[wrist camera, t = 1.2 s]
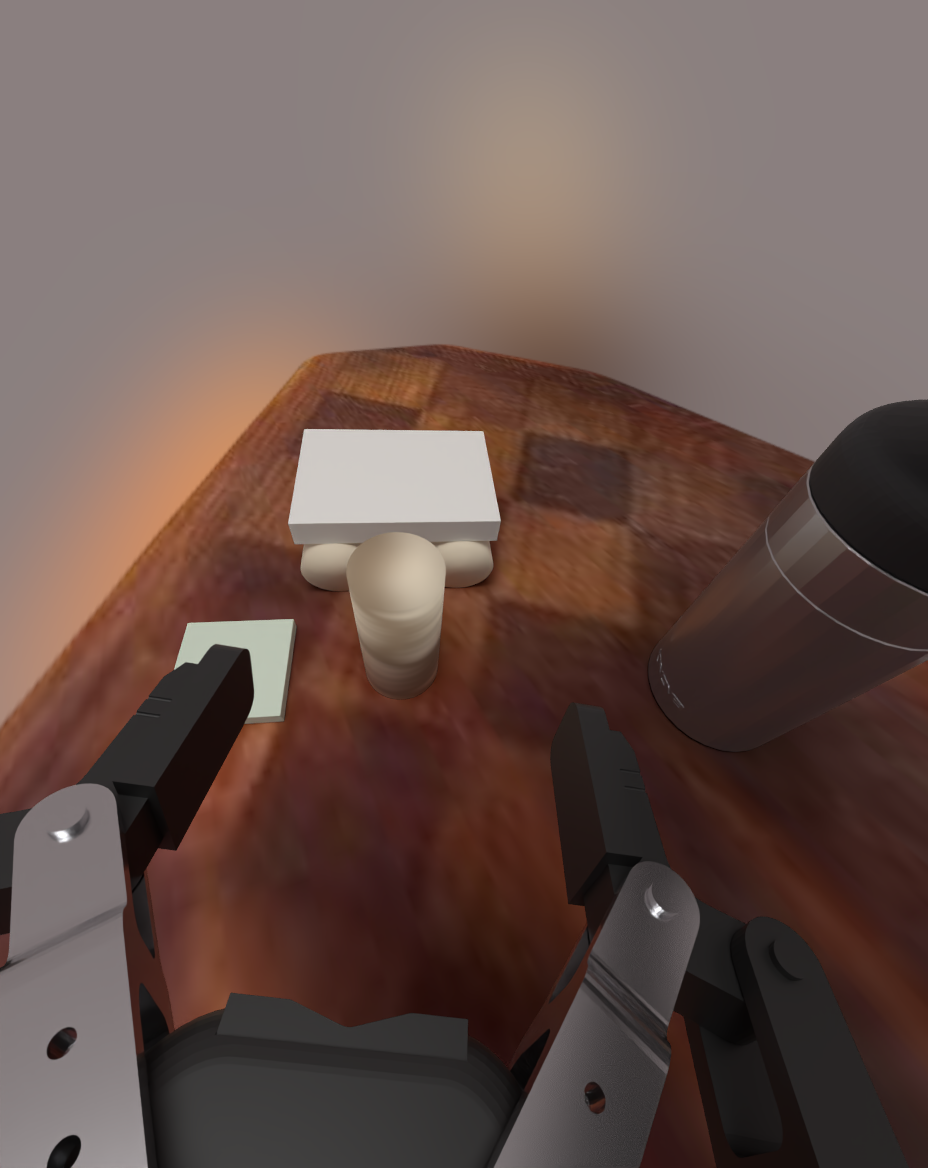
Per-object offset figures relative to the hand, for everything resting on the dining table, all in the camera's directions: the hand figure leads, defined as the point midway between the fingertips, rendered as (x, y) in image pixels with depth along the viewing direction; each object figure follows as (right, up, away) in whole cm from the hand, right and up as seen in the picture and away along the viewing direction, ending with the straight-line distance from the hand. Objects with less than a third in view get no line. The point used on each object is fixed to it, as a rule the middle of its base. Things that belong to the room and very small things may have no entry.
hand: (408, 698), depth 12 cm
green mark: (-14, -3, +19) cm, 24 cm away
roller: (-3, -3, +21) cm, 21 cm away
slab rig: (-4, +7, +28) cm, 29 cm away
